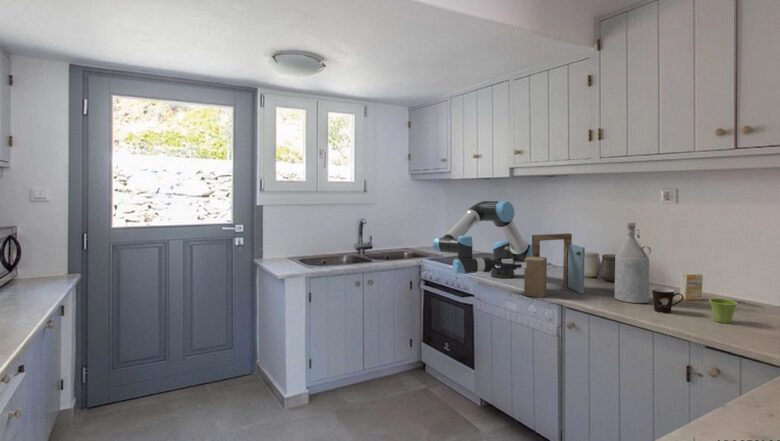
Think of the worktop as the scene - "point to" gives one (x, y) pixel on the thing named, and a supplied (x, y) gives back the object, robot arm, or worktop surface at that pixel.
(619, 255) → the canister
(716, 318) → the plant pot
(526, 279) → the wooden block
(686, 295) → the supplement box
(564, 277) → the door frame
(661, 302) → the coffee mug
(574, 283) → the door
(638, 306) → the worktop surface
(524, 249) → the robot arm
